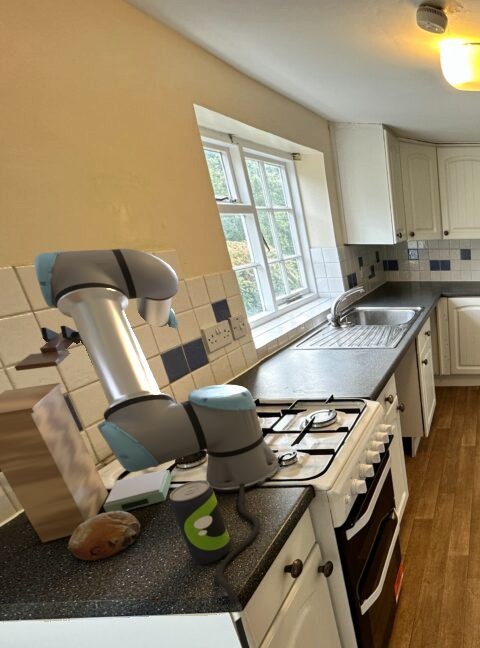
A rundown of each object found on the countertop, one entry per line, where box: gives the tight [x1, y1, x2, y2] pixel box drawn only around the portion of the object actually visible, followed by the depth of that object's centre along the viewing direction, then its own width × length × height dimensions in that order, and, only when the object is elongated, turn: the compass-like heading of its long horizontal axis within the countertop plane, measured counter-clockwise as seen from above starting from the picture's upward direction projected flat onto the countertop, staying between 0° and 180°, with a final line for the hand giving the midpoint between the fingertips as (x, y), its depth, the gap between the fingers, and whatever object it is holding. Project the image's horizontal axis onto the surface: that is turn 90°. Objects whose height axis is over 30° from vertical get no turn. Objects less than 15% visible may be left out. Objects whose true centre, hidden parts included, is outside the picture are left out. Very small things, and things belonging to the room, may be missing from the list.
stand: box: [0, 382, 109, 544], centre depth 83 cm, size 14×8×28 cm, turn 30°
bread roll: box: [68, 511, 141, 561], centre depth 81 cm, size 10×10×8 cm
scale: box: [102, 469, 173, 513], centre depth 94 cm, size 10×10×3 cm
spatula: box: [14, 329, 76, 372], centre depth 92 cm, size 22×6×2 cm, turn 31°
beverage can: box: [169, 479, 232, 565], centre depth 76 cm, size 6×6×15 cm
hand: (54, 332), depth 94 cm, fingers closed on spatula, 2 cm apart
